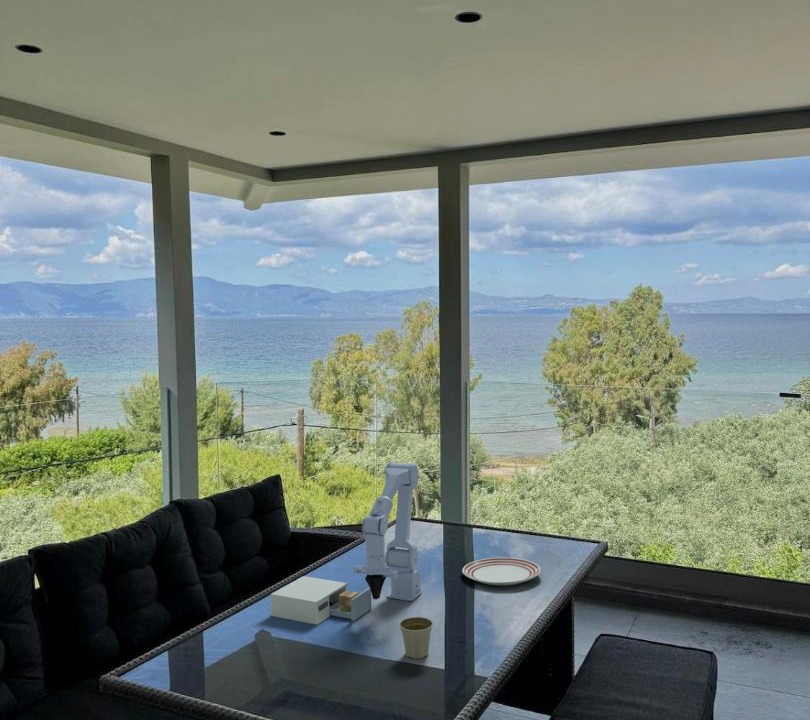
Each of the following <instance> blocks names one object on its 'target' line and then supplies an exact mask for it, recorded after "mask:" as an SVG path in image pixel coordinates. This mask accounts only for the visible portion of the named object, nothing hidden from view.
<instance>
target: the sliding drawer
mask: <svg viewBox="0 0 810 720" xmlns="http://www.w3.org/2000/svg"><path fill="white" fill-rule="evenodd" d="M329 606H330V616H332V617H339V618H344V619H349V620H351V621H352V622H354V621H356V620H357V619H359V618H360V617H362V616H363V615H364V614H366V613H367V612H368V611H371V610H372V593H371V590H370V587H367V588H366V589H365V590H363V591H362V592H360V593H358V595H357V596H355V597H354V598H352V599H351V613H350V612H344V611H340V609H339V601H338V602H336V603H332V605H329Z"/></svg>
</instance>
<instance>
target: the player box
mask: <svg viewBox="0 0 810 720" xmlns="http://www.w3.org/2000/svg"><path fill="white" fill-rule="evenodd" d="M345 591H348V583H347V582H342V581H336V580H331V579H330V580H329V579H324V578H317V577H312V576H311V577H310V576H304V575H303V576H301V577H299V578H297V579H296V580H294V581H291V582H290V583H288V584H286V585H284V586H283V587H281V588H279V589H277V590H276V591H274V592H272V593H270V609H271V615H270V616H271V617H275V618H279V619H280V618H281V619H284V620H290V619H291V621H295V622H296V621H297V622H302V623H306V624H312V625H317V626H318V625H319V624H320V623H322V622H324V621H325V620H326V619H328V618H330V617H331V615H330V606H331V605H330V604H335V603H336V602H338V601H339V595H340V594H342V593H344V592H345ZM329 602H331V603H329Z"/></svg>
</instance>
